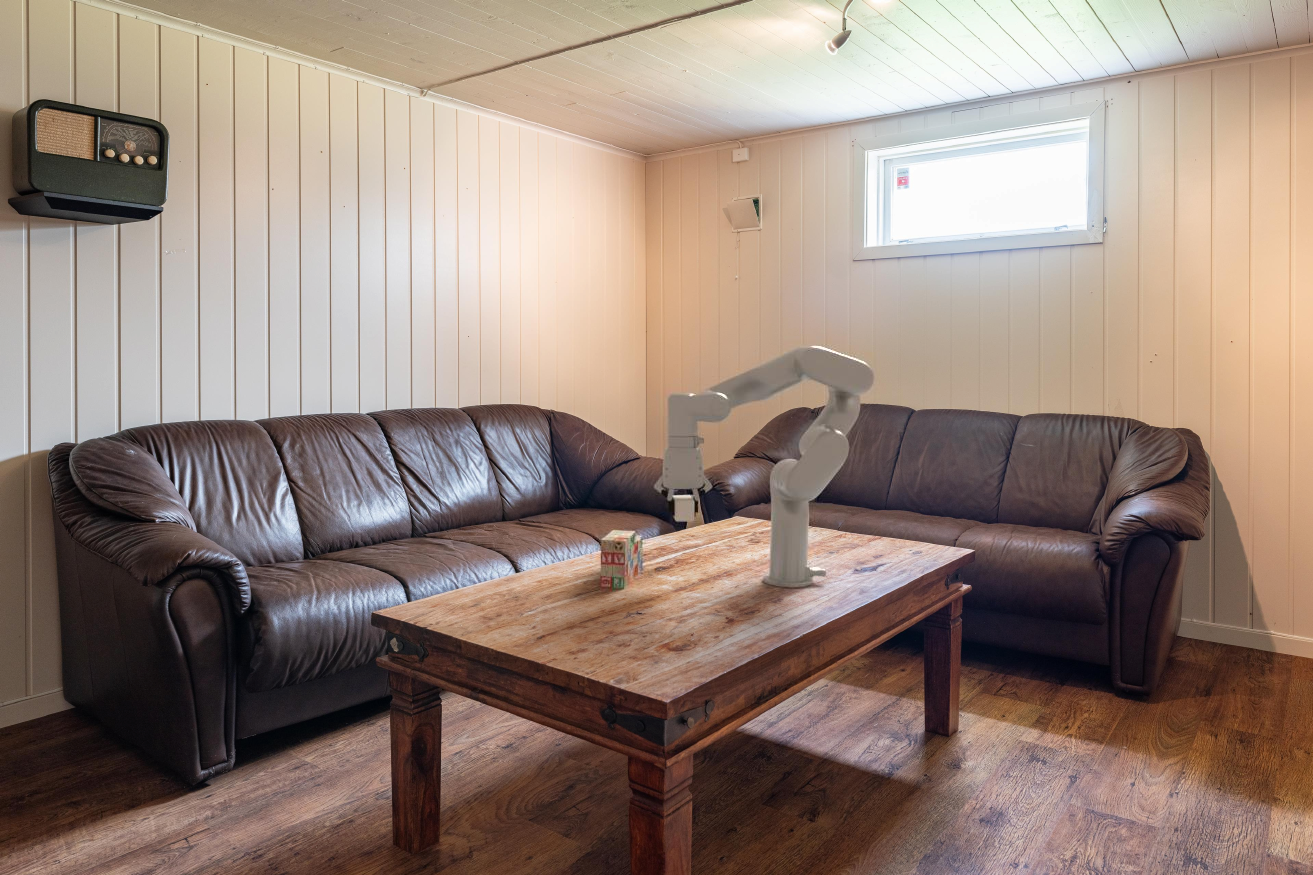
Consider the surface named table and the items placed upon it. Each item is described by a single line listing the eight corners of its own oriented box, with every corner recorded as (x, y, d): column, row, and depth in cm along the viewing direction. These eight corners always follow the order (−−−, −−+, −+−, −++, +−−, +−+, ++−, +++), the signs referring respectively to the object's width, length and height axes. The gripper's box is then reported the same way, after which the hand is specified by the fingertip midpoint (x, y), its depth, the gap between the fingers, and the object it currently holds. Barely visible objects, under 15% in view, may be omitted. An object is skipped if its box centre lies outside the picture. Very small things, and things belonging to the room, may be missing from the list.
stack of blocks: (620, 568, 235) (620, 523, 234) (642, 569, 234) (643, 524, 233) (599, 588, 214) (600, 538, 213) (624, 589, 213) (625, 540, 212)
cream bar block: (690, 514, 222) (690, 495, 221) (694, 521, 213) (694, 500, 212) (672, 514, 221) (672, 495, 221) (676, 521, 212) (676, 501, 212)
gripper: (716, 441, 219) (716, 512, 221) (648, 441, 219) (649, 513, 221) (718, 444, 212) (718, 518, 213) (648, 444, 211) (649, 518, 213)
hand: (683, 514), depth 217 cm, fingers closed on cream bar block, 4 cm apart
